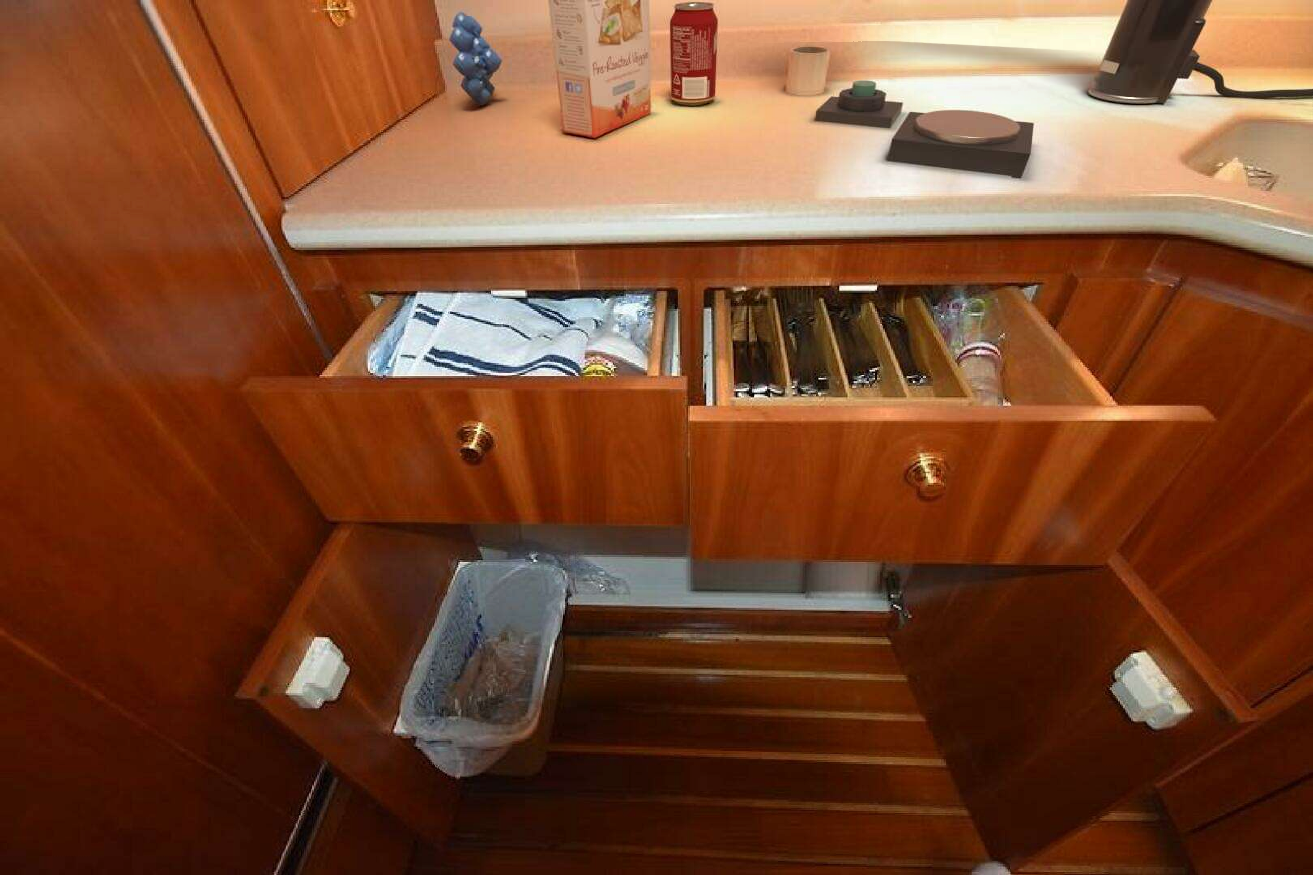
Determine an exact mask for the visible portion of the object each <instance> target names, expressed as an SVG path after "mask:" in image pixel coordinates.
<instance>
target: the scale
mask: <svg viewBox="0 0 1313 875" xmlns="http://www.w3.org/2000/svg"><path fill="white" fill-rule="evenodd" d="M1034 125H1035V122H1030V121H1029V122H1028V121H1019V120H1014V119H1012V118H1009V117H1006V116H1003V115H999V114H996V113H991V112H984V111H979V110H968V109H967V110H966V109H944V110H943V109H942V110H934V111H930V112H929V111H928V112H919V111H909V112H908V114H907V115H906V117H905V119H904V120H903V122H902V123H901V125H900V126H899V128H898V129H897V131H896V132H895V134H894V135H893V137H892V138H891V141H890V146H889V151H888V155H887V161H886V162H890V163H891V162H892V163H898V164H905V165H906V164H907V165H916V166H923V167H932V168H940V169H949V170H955V171H956V170H957V171H965V172H973V173H974V172H975V173H982V174H990V175H997V176H1006V177H1007V176H1008V177H1011V178H1016V179H1017V178H1018V179H1019V178H1020V179H1021V178H1022V177H1023V175H1024V172H1025V170H1026V167H1027V164H1028V163H1029V160H1030V156H1031V154H1032V144H1033V137H1034V136H1033V135H1034V127H1035V126H1034Z"/></svg>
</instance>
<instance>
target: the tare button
mask: <svg viewBox="0 0 1313 875" xmlns="http://www.w3.org/2000/svg"><path fill="white" fill-rule="evenodd" d="M851 88H852V92H851V95H854V96H862V97H864V96H874V93H875V89H876V88H877V83H876V81H872V80H856V81H853V82H852V86H851Z"/></svg>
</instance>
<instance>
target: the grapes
mask: <svg viewBox="0 0 1313 875" xmlns="http://www.w3.org/2000/svg"><path fill="white" fill-rule="evenodd" d="M451 26H452V28H453V29H452V31H451V32H450V35H449V42H450V43H451V45H452V46H453V47H454V48H455V49H456V50H457V51H458V53H457V54H456V55H455V57H454V58H453V61H452V62H453V63H452V65H453V67H454V68H455V69H456V70H457V71H458V73H459V74H460V75H461V76H463V79H462V80H461V83H460V87H461V89H462V90H463V91H464V93H466V94H467V95H468V96H469V97H470V98H471V100H472V101H473V102H474V103H475V104H476V105H477V106H480V107H483V106H485V105H486V104H487V103H488V102H489V100H490V98H491V97H492V96H493V94H494V92H495V89H496V86H494V85H493V83H492V82H491V81H490V80H491V78H492V77H493V75H494V73H496V72H497V71H498V70H499V69H500V67H501V65H502V62H503V59H502V58H501V57H500V56H499V54H498V53H497V51H495V50H493V49H492V48H491V45H490V44H489V43H488V41H487V40H486V39H485V38H484V37H483V36H481V34H482V31H483V27H482V26H481V24H480V23H479V22H478V21H477V19H476V18H474V17H473V16H471V15H468V14H466V13H464V12H462V11H461V12H459V11H458V13H457V14H456V15H455V16H454V19H453V21H452V25H451Z"/></svg>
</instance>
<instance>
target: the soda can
mask: <svg viewBox="0 0 1313 875" xmlns="http://www.w3.org/2000/svg"><path fill="white" fill-rule="evenodd" d="M714 7H715V4H714V3H713V2H707V1H687V2H679V3H676V4H674V12H673V14H672V16H671V18H670V20H669V58H670V59H669V60H670V62H669V63H670V64H669V65H670V66H669V67H670V69H669V74H670V98H671V99H672V100H673V101H675V102H676V103H677V104H678V105H681V106H689V107H697V106H702V105H707V104H709V102H710V101H711V100H713V99H715V97H716V86H717V85H716V84H717V60H718V59H717V58H718V57H717V56H718V53H717V51H718V30H719V28H718V27H719V19H718V16H717V15H716V13H715V11H714Z"/></svg>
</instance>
